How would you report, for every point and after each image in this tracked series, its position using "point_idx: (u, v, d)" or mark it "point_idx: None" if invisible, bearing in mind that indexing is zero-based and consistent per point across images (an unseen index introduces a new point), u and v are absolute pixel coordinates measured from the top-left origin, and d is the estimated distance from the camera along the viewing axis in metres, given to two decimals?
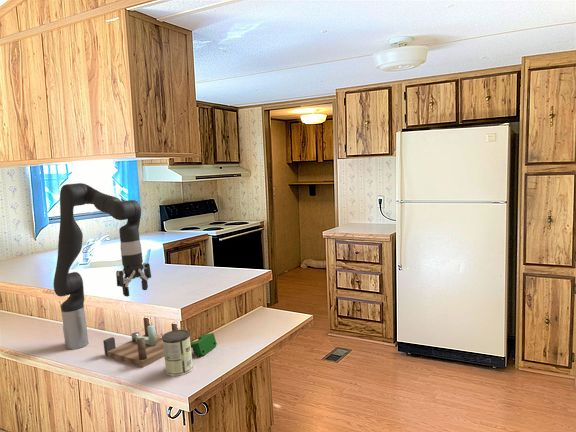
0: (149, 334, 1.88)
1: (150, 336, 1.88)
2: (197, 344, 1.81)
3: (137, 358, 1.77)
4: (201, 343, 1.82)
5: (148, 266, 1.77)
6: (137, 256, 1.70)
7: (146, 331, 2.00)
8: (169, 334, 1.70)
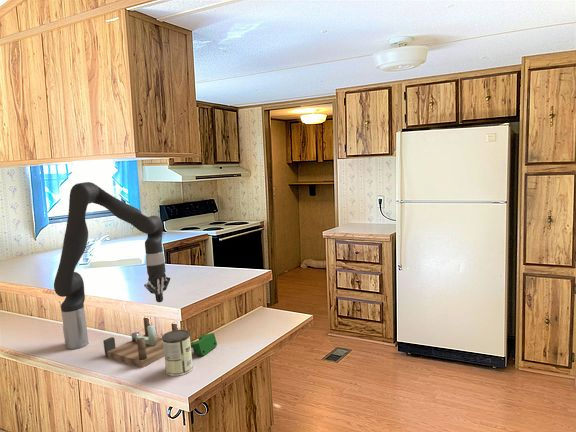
0: (149, 334, 1.88)
1: (150, 336, 1.88)
2: (197, 344, 1.81)
3: (137, 358, 1.77)
4: (201, 343, 1.82)
5: (168, 280, 1.96)
6: (161, 266, 1.89)
7: (146, 331, 2.00)
8: (169, 334, 1.70)
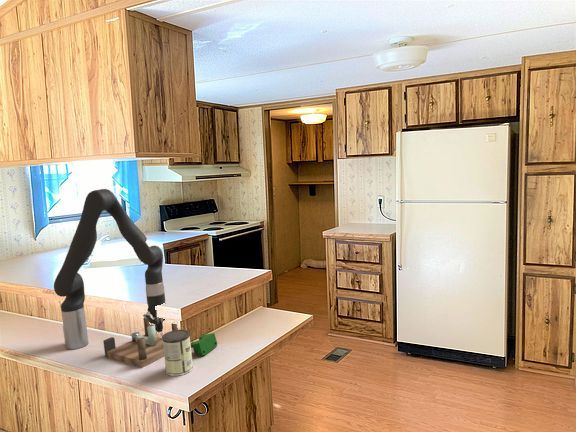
0: (149, 334, 1.88)
1: (150, 336, 1.88)
2: (198, 344, 1.80)
3: (137, 358, 1.77)
4: (202, 343, 1.82)
5: None
6: (160, 297, 1.88)
7: (146, 331, 2.00)
8: (169, 334, 1.70)
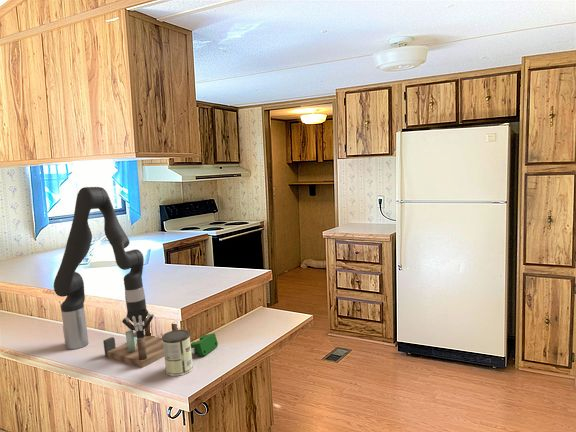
0: (126, 339, 1.84)
1: None
2: (198, 344, 1.80)
3: (137, 358, 1.77)
4: (202, 343, 1.82)
5: (150, 318, 1.84)
6: (133, 304, 1.80)
7: (146, 331, 2.00)
8: (169, 334, 1.70)
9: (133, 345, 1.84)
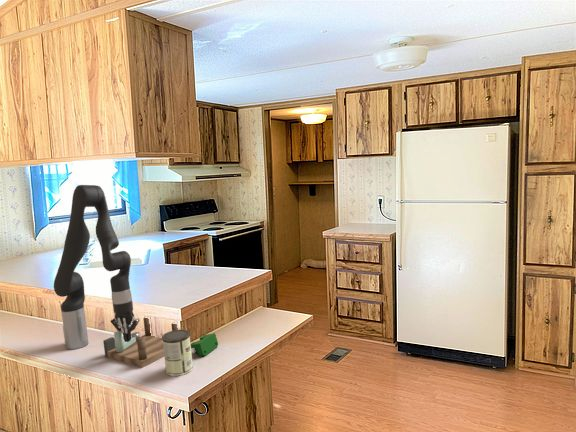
0: None
1: None
2: (199, 344, 1.80)
3: (137, 358, 1.77)
4: (203, 343, 1.82)
5: (134, 323, 1.80)
6: (116, 306, 1.79)
7: (146, 331, 2.00)
8: (169, 334, 1.70)
9: (120, 346, 1.84)
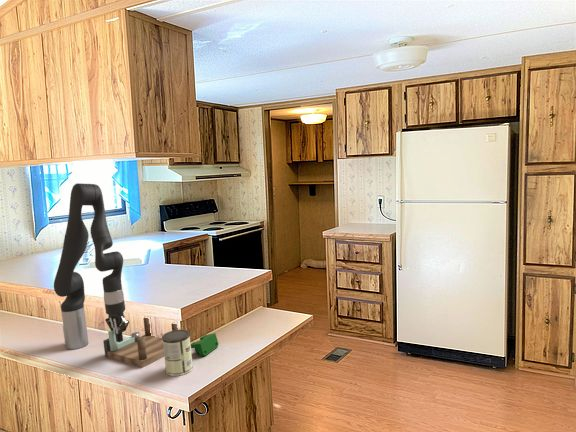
0: None
1: None
2: (199, 344, 1.80)
3: (137, 358, 1.77)
4: (203, 343, 1.82)
5: (122, 324, 1.79)
6: (106, 306, 1.79)
7: (146, 331, 2.00)
8: (169, 334, 1.70)
9: (113, 345, 1.85)
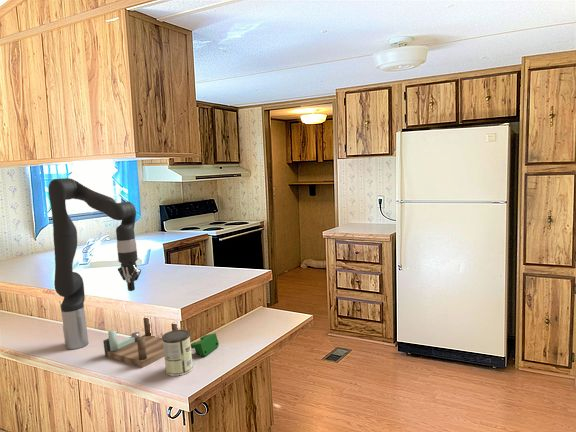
0: None
1: None
2: (199, 344, 1.80)
3: (137, 358, 1.77)
4: (203, 343, 1.82)
5: (134, 273, 1.83)
6: (119, 255, 1.83)
7: (146, 331, 2.00)
8: (169, 334, 1.70)
9: (113, 345, 1.85)
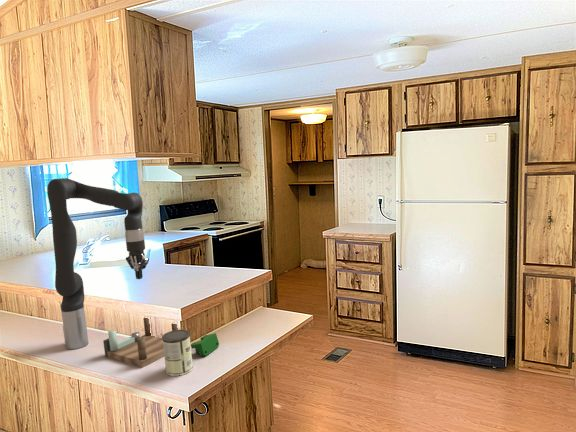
0: None
1: None
2: (200, 344, 1.80)
3: (137, 358, 1.77)
4: (204, 343, 1.81)
5: (143, 261, 1.89)
6: (127, 244, 1.89)
7: (146, 331, 2.00)
8: (169, 334, 1.70)
9: (113, 345, 1.85)
